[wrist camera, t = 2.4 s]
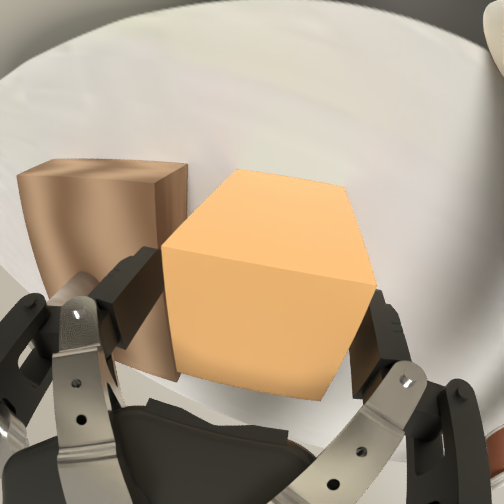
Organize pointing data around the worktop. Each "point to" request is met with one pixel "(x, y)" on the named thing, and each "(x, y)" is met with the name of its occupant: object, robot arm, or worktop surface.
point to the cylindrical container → (495, 32)
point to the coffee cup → (496, 456)
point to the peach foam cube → (267, 285)
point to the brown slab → (105, 235)
